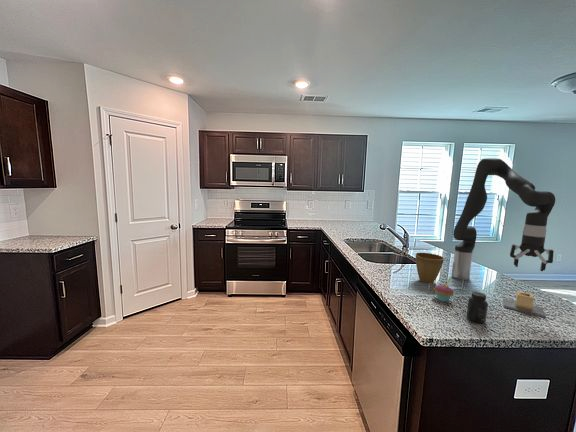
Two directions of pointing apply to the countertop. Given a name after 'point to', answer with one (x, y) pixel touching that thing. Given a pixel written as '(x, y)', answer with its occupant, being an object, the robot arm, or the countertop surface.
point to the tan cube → (524, 300)
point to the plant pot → (428, 266)
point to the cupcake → (444, 292)
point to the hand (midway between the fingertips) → (528, 268)
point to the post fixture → (535, 309)
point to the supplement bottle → (477, 308)
